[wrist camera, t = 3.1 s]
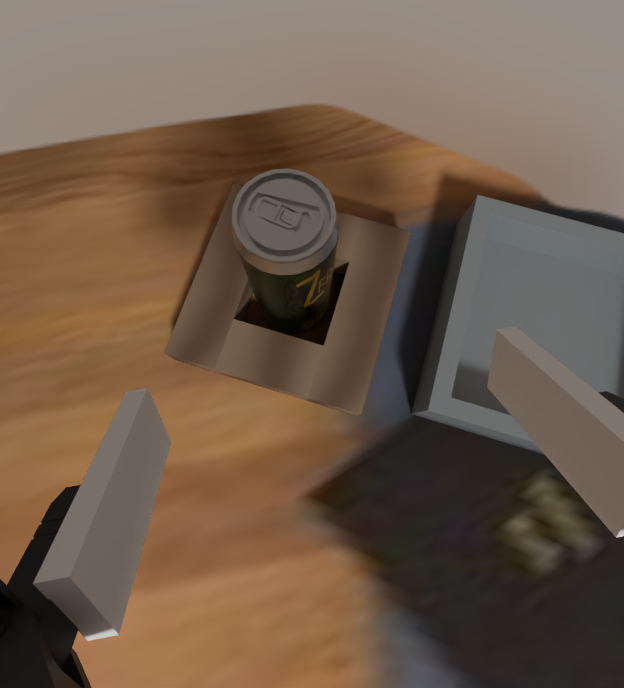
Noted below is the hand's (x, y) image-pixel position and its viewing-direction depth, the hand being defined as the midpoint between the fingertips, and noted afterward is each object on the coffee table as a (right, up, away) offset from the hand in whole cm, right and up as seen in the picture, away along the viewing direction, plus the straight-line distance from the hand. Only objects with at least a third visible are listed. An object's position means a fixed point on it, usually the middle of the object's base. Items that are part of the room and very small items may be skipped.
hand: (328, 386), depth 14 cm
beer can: (-2, +5, +15) cm, 16 cm away
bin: (+17, +2, +14) cm, 22 cm away
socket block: (-2, +5, +15) cm, 16 cm away
